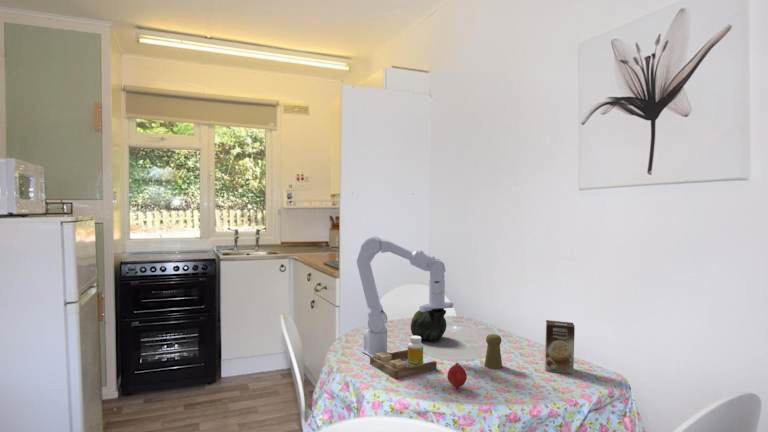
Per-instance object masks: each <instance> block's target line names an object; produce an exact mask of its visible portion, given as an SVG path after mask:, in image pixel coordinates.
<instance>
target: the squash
mask: <svg viewBox="0 0 768 432" xmlns="http://www.w3.org/2000/svg"><path fill="white" fill-rule="evenodd" d="M446 330H447V321H446V318H445V316H444V317H443V319H442V322H441V325H440V329H439V330H436V329H433V324H432V320H431V318H430V315H429V314H428V312H427V311H425V312H421V311H420V309H419V310H418V311H416V312H415V314H414V315H413V316H412V319H411V322H410V332H411V334H412V336H420V337H421V340H425V341H427V340H428V341H429V340H430V341H429V342H434V340H437V341H439V340H441V339H442V338H443V336H444V334H445V332H446Z"/></svg>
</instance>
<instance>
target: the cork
mask: <svg viewBox="0 0 768 432" xmlns="http://www.w3.org/2000/svg"><path fill="white" fill-rule="evenodd" d="M485 342H486V343H487V347H486V354H485V360H484V367H485V368H487V369H490V370H501V369H503V361H502V353H501V352H502V351H501V345H502V344H501V343H502V337H501V336H500V335H499V334H494V333H493V334H492V333H491V334H487V335H486V338H485Z"/></svg>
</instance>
